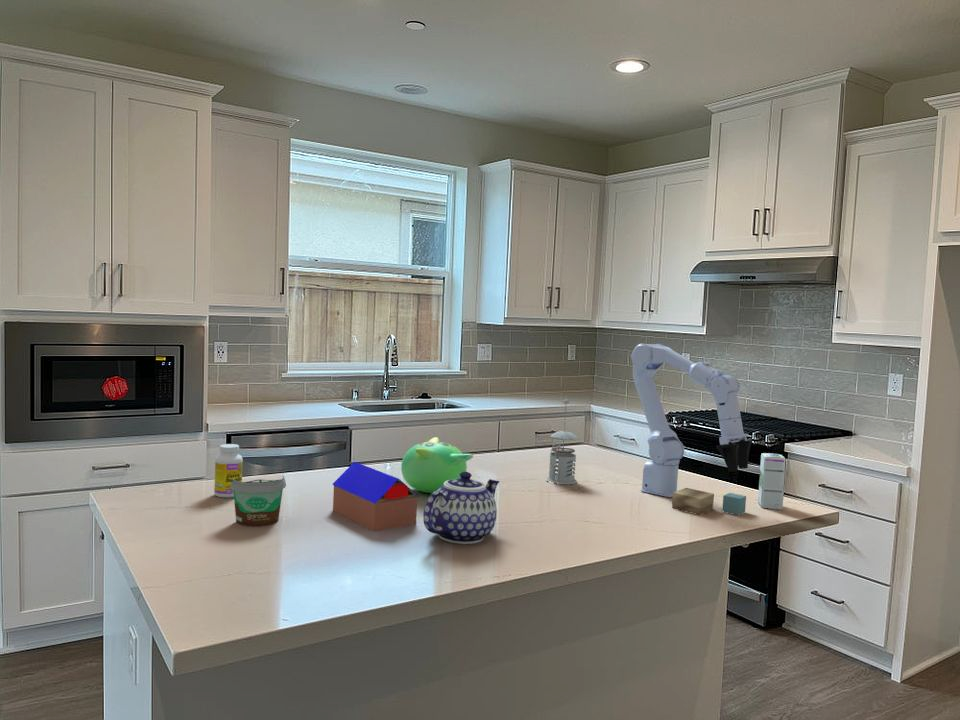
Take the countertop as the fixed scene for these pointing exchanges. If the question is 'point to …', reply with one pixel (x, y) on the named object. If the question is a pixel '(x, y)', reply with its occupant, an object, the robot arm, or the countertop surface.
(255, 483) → the food container
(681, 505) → the slab bottom
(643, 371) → the robot arm
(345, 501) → the house
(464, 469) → the toy bird
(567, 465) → the french press
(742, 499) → the teal cube
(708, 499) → the slab top
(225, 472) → the supplement bottle
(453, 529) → the teapot
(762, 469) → the syrup box
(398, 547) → the countertop surface
